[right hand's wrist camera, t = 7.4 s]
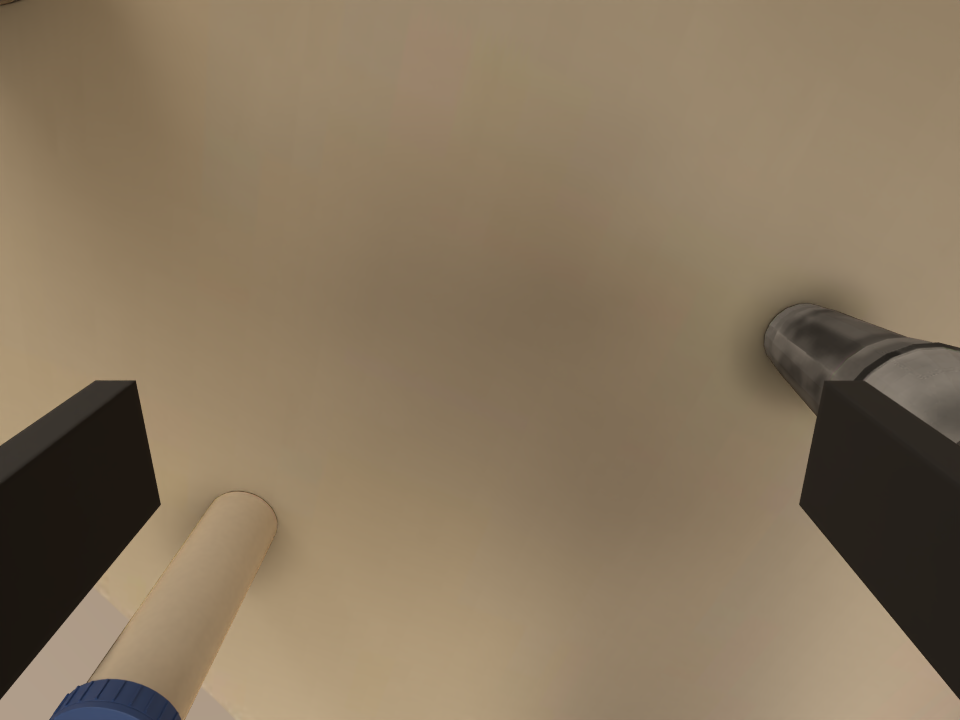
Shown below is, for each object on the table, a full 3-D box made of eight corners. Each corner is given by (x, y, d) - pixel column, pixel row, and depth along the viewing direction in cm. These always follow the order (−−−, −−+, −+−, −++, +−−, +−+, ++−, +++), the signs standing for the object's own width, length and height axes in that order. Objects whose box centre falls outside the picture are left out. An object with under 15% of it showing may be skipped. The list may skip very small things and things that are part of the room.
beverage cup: (767, 409, 43) (990, 635, 24) (723, 318, 41) (931, 491, 22) (874, 356, 42) (1197, 552, 23) (834, 259, 39) (1155, 389, 21)
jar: (290, 536, 47) (186, 765, 30) (230, 559, 47) (98, 796, 31) (254, 481, 45) (124, 691, 29) (193, 506, 46) (31, 725, 29)
